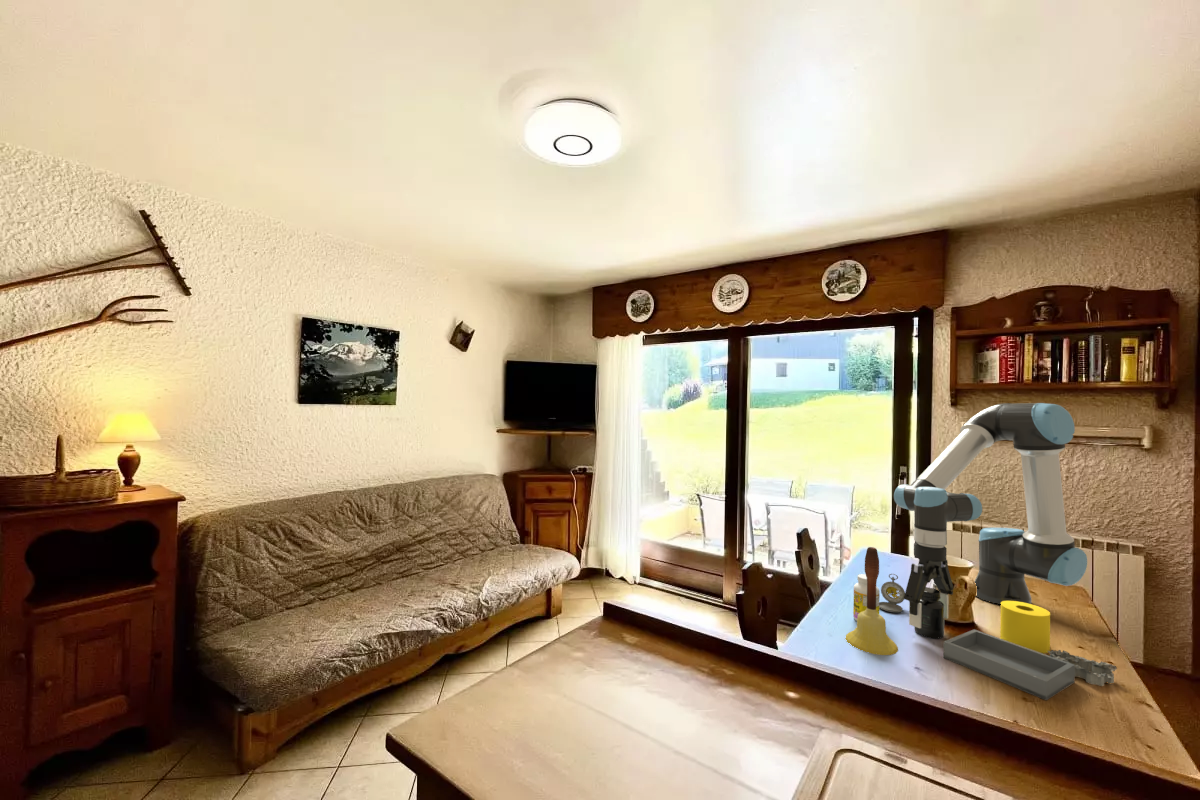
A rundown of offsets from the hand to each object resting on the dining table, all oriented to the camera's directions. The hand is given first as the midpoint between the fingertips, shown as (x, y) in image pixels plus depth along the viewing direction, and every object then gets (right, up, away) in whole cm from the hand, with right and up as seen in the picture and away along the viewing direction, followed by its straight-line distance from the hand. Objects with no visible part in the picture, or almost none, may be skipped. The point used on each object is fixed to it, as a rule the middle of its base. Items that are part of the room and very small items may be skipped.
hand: (929, 621), depth 136 cm
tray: (+6, -3, -18) cm, 20 cm away
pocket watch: (0, -4, +17) cm, 17 cm away
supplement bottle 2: (0, -4, 0) cm, 4 cm away
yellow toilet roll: (+22, -4, -5) cm, 23 cm away
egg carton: (+23, -4, -19) cm, 30 cm away
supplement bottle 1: (-13, -3, +7) cm, 16 cm away
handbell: (-19, -3, -6) cm, 21 cm away
